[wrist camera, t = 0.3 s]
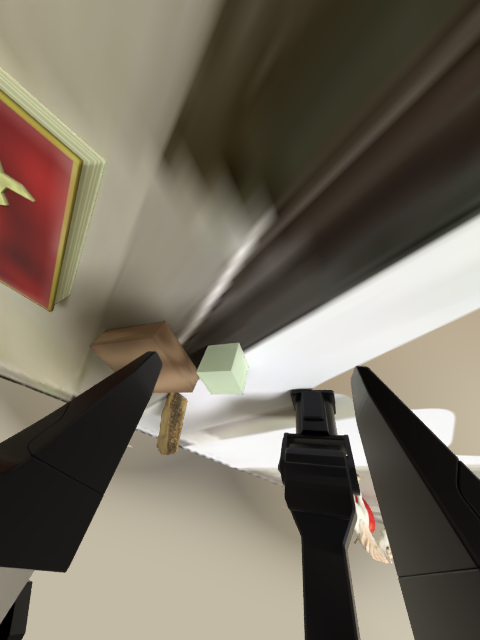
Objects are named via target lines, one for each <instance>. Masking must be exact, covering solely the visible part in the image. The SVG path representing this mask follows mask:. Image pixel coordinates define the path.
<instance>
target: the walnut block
mask: <svg viewBox="0 0 480 640" xmlns="http://www.w3.org/2000/svg"><path fill="white" fill-rule="evenodd" d="M89 347H90V348H91V349H92V350H93V351H94V352H95V353H96V354H97V355H98V356H99V357H100V358H101V359H103V360H104V361H105V362H106V363H107V364H108V365H109V366H110V367H111V368H112V369H113V370H114V371H115V372H116V371H118V370H119V369H121V368H122V367H124V366H126V365H127V364H129V363H130V362H132V361H133V360H135V359H136V358H138V357H139V356H141V355H143V354H144V353H146V352H147V351H156V352H157V353H158V355H159V357H160V358H161V360H162V363H163V365H162V369H161V372H160V374H159V377H158V380H157V383H156V385H155V388H154V391H153V393H176V392H193V390H194V387H195V385H196V383H197V380H198V378H199V376H198V374H197V373H196V372H197V369H196V367H195V366H194V364H193V363H192V361H191V360H190V358H189V357H188V355H187V353H186V352H185V350H184V349H183V347H182V346H181V344H180V343H179V341H178V340H177V338H176V337H175V335H174V334H173V332H172V331H171V329H170V328H169V326H168V325H167V323H166V322H165V321H163V322H156V323H150V324H144V325H137V326H131V327H125V328H118V329H112V330H106V331H105V332H104V333H103V334H102V335H101V336H99V337H98V338H97V339H96V340H95V341H94V342H93V343H92V344H91V345H90V346H89Z"/></svg>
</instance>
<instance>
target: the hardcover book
mask: <svg viewBox="0 0 480 640" xmlns="http://www.w3.org/2000/svg"><path fill="white" fill-rule="evenodd" d="M105 164H106V160H105V159H103V158H102V157H101V156H100V155H99V154H98V153H97V152H96V151H94V150H93V149H92V148H91V147H90V146H89V145H88V144H87V143H85V142H84V141H83V140H82V139H81V138H80V137H79V136H78V135H77V134H75V133H74V132H73V131H72V130H71V129H70V128H69V127H68V126H66V125H65V124H64V123H63V122H62V121H61V120H60V119H59V118H57V117H56V116H55V115H54V114H53V113H52V112H51V111H50V110H48V109H47V108H46V107H45V106H44V105H43V104H42V103H41V102H39V101H38V100H37V99H36V98H35V97H34V96H33V95H32V94H31V93H29V92H28V91H27V90H26V89H25V88H24V87H23V86H22V85H20V84H19V83H18V82H17V81H16V80H15V79H14V78H13V77H11V76H10V75H9V74H8V73H7V72H6V71H5V70H4V69H2V68H1V67H0V282H1V283H3V284H5V285H6V286H8V287H10V288H11V289H13V290H15V291H16V292H18V293H20V294H21V295H23V296H25V297H26V298H28V299H29V300H31V301H33V302H34V303H36V304H38V305H39V306H41V307H43V308H44V309H46V310H48V311H49V312H52V311H53V309H54V305H55V304H57V303H58V302H60V301H61V300H63V299H65V298H66V297H68V296H70V294H71V290H72V286H73V283H74V279H75V275H76V272H77V268H78V264H79V261H80V257H81V253H82V249H83V246H84V242H85V238H86V235H87V231H88V227H89V224H90V220H91V216H92V212H93V209H94V205H95V201H96V198H97V194H98V190H99V187H100V183H101V179H102V176H103V172H104V168H105Z"/></svg>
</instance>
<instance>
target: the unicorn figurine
mask: <svg viewBox="0 0 480 640" xmlns="http://www.w3.org/2000/svg"><path fill="white" fill-rule="evenodd" d="M357 479H358V484H359V480H360V476H358V475H357ZM360 495H361V493H360ZM353 496H354V495H353ZM357 498H358V504H357V503H356V502H355V506H356V512H357V522H356V525H355V528H354V532H355V533H356V535H357V538H358V540H359V541H360V543H361V545H362V546H363V547H364V548H365V549H366V550H367V552H368V553H369V554H370V555H371V556H372V557H373V558H374V559H375V560H377V561H382V562H384V563H388V562H390V563H392V561H391V559H392V557H393V556H392V553H391V549H390V545H389V541H388V538H387V534H386V530H385V529H381V536H380V538H379V539H378V540H375V539H374V538H373V536H372V535H371V533H370V530H369V516H368V512H367V509H366V508H365V505H364V502H363V500H362V496H357ZM354 501H356V500H355V496H354ZM392 564H393V563H392Z"/></svg>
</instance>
